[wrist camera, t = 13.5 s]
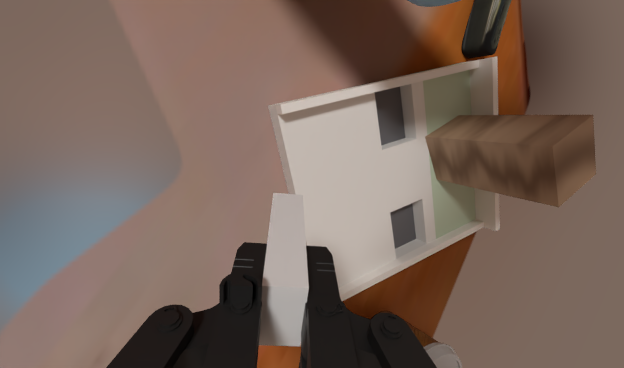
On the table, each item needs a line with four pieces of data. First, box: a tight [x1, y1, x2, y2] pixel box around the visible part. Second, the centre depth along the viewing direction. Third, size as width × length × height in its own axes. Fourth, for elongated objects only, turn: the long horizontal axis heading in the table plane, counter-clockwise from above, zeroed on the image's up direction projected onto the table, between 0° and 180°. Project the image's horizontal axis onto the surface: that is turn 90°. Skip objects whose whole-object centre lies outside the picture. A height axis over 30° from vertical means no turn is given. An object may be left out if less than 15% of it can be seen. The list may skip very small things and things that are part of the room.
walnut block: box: [425, 115, 596, 207], centre depth 39 cm, size 7×7×16 cm
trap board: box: [268, 57, 500, 301], centre depth 43 cm, size 31×26×6 cm
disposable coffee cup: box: [378, 311, 462, 368], centre depth 45 cm, size 10×10×12 cm
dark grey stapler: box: [462, 0, 511, 58], centre depth 45 cm, size 5×3×15 cm
